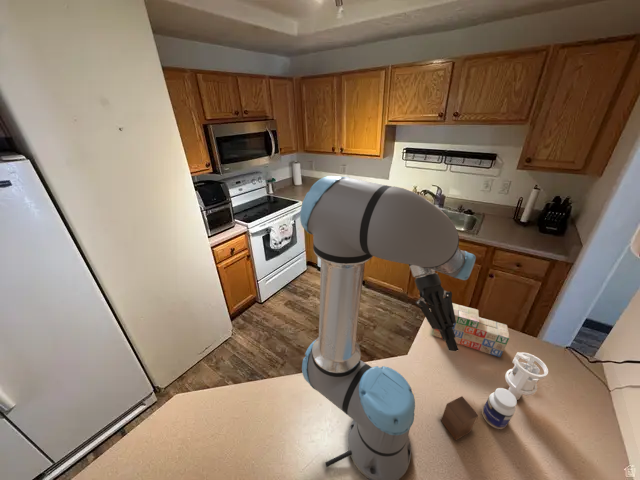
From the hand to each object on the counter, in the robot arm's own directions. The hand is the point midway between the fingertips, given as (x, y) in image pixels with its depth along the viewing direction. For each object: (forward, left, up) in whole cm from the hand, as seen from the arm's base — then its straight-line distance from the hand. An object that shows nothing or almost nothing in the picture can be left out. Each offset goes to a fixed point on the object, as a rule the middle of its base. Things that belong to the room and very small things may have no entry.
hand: (453, 350), depth 78 cm
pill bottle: (0, -16, -9) cm, 18 cm away
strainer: (+11, -14, -9) cm, 20 cm away
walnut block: (-11, -14, -9) cm, 19 cm away
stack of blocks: (+14, +6, -9) cm, 18 cm away
